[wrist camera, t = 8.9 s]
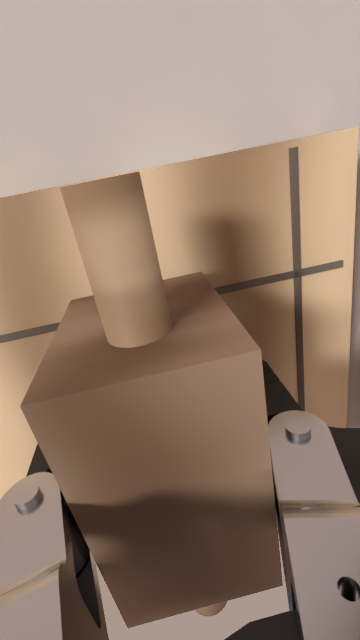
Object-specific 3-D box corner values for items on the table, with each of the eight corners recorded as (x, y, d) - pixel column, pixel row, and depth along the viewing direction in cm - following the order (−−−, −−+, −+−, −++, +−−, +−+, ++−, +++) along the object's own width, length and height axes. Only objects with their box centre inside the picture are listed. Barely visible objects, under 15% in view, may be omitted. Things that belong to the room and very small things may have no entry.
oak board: (314, 136, 12) (360, 126, 9) (317, 416, 17) (346, 454, 15) (-269, 253, 11) (-379, 273, 8) (-72, 511, 16) (-106, 567, 14)
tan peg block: (184, 164, 9) (243, 149, 4) (236, 493, 14) (287, 642, 10) (34, 194, 9) (-74, 213, 4) (145, 516, 14) (153, 680, 9)
